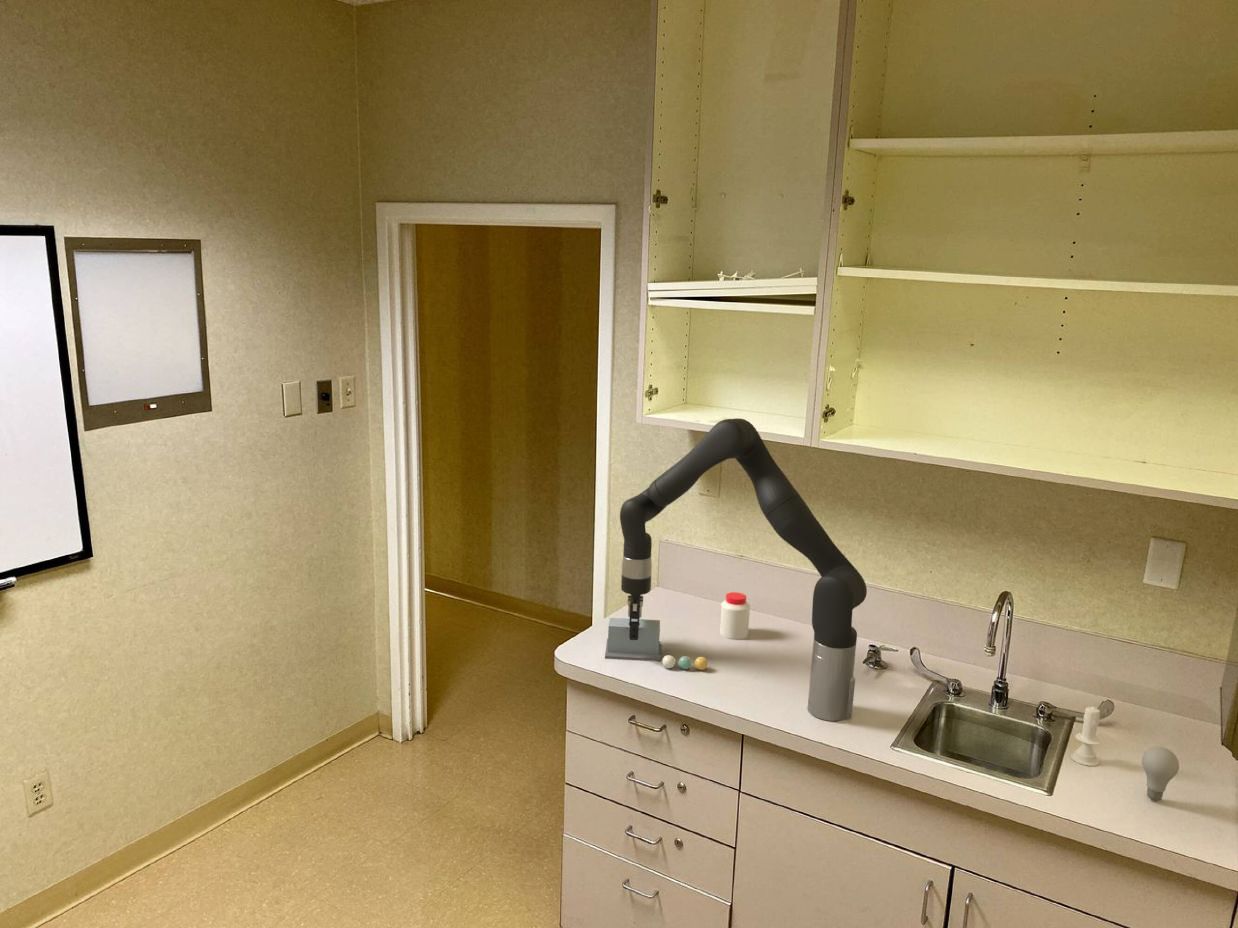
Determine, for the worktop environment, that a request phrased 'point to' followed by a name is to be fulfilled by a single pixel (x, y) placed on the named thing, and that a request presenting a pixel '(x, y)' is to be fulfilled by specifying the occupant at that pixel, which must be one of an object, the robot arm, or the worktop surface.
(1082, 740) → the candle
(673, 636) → the worktop surface
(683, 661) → the marble teal
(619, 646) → the cover
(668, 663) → the marble white
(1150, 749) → the lightbulb
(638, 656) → the mat
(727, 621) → the pill bottle
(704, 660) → the marble amber
